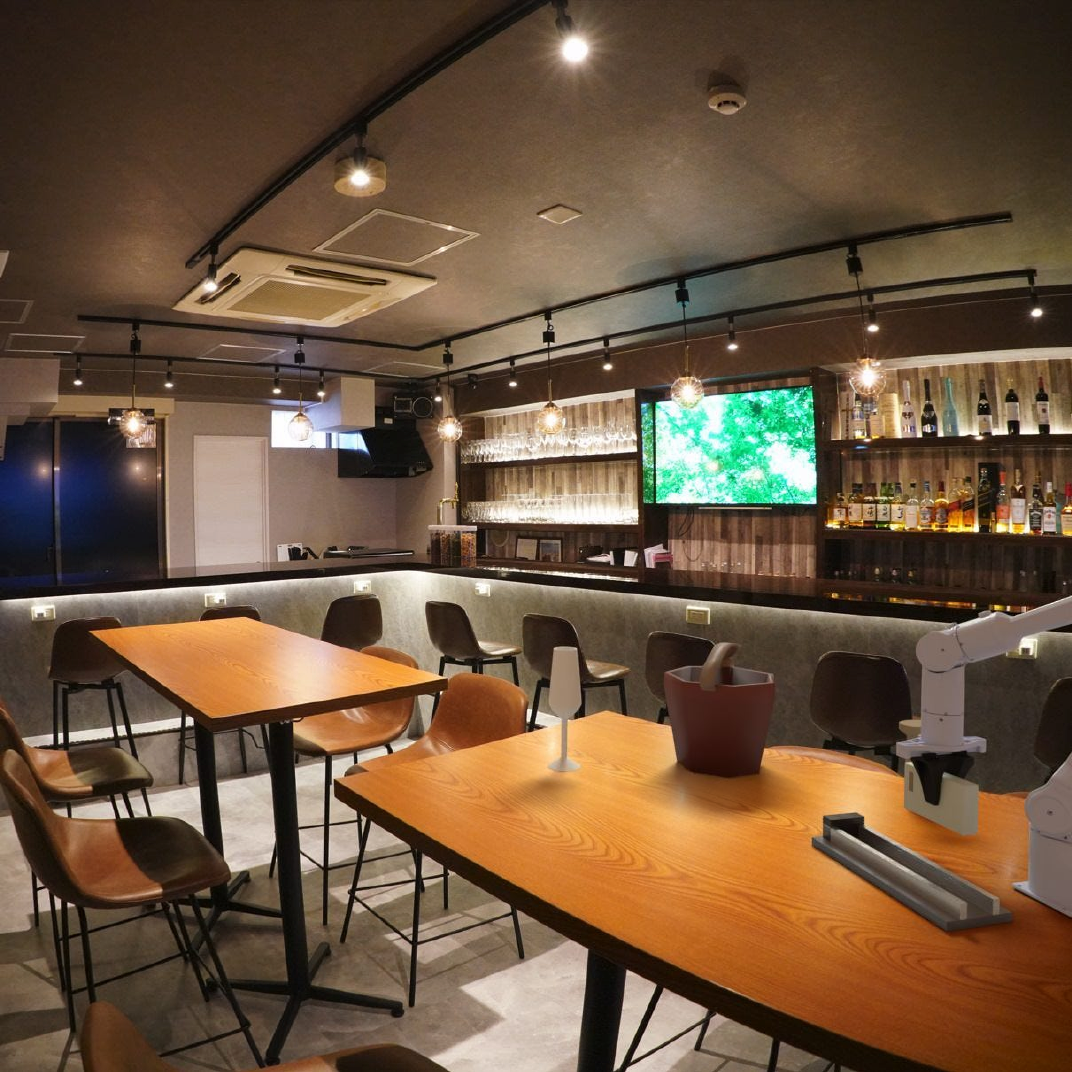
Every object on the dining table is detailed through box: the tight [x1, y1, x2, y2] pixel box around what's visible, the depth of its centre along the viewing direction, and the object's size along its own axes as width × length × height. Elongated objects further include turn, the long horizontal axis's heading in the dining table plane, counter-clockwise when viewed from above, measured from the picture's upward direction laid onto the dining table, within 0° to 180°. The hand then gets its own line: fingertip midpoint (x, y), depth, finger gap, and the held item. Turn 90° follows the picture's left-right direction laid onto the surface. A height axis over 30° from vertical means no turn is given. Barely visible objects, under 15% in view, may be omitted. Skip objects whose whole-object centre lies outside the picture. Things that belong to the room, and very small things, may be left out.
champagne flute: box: [547, 646, 582, 772], centre depth 168 cm, size 7×7×24 cm
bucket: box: [663, 642, 776, 779], centre depth 170 cm, size 24×22×25 cm
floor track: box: [811, 811, 1013, 932], centre depth 117 cm, size 28×10×4 cm, turn 16°
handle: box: [898, 719, 921, 774], centre depth 146 cm, size 5×6×15 cm
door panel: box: [903, 762, 980, 837], centre depth 123 cm, size 12×3×7 cm, turn 16°
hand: (940, 802), depth 123 cm, fingers closed on door panel, 2 cm apart
